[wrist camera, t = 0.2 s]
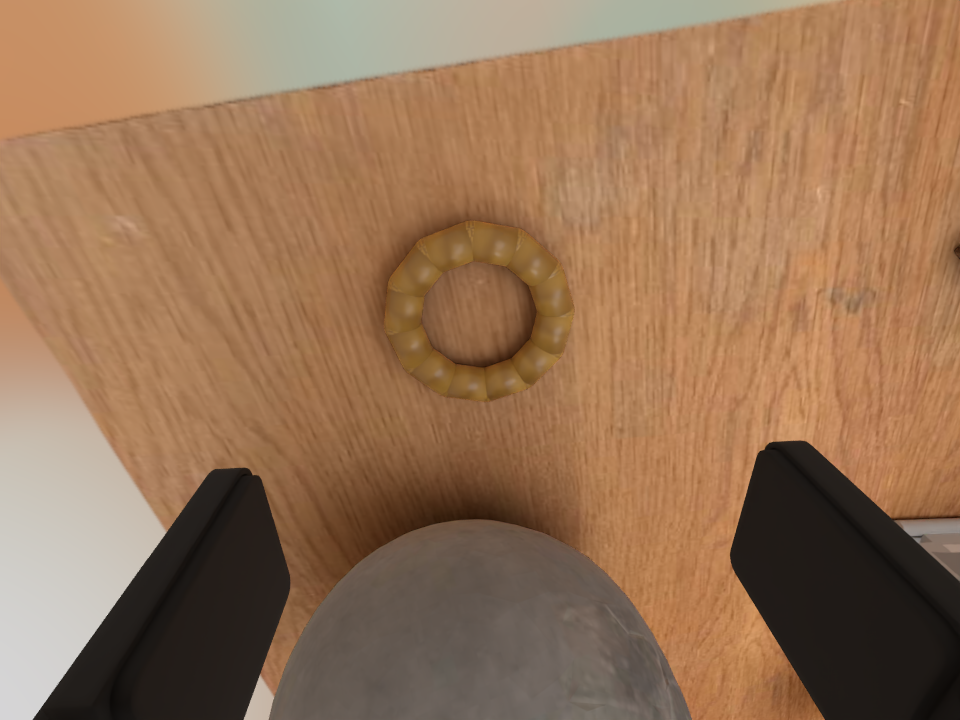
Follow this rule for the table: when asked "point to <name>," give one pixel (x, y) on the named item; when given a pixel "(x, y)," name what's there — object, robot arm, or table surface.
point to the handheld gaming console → (937, 539)
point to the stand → (958, 252)
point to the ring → (490, 248)
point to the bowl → (477, 636)
